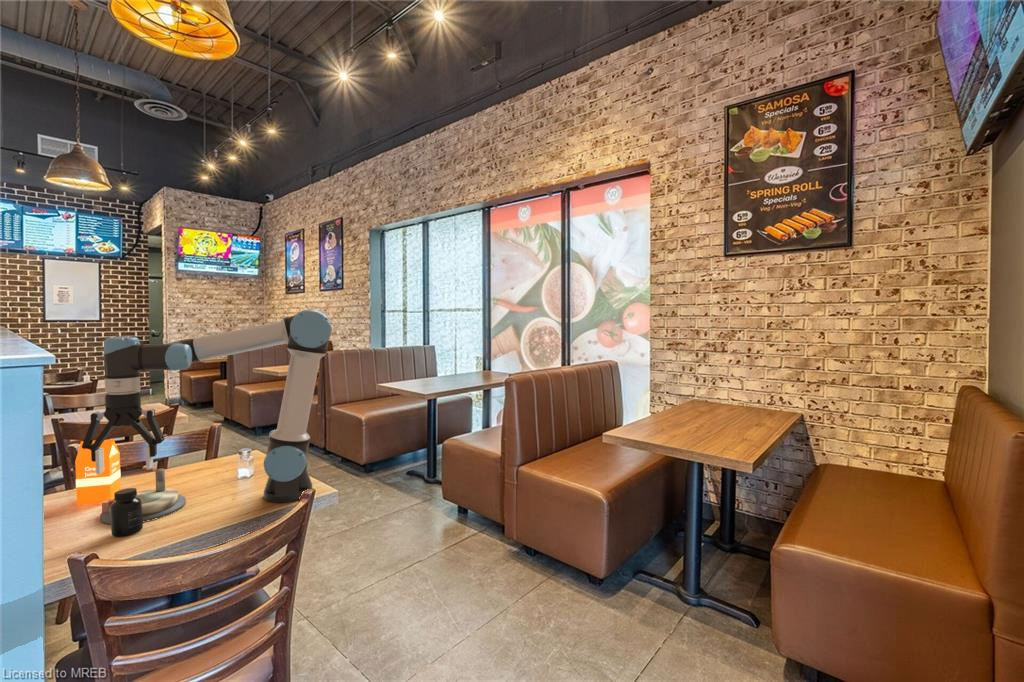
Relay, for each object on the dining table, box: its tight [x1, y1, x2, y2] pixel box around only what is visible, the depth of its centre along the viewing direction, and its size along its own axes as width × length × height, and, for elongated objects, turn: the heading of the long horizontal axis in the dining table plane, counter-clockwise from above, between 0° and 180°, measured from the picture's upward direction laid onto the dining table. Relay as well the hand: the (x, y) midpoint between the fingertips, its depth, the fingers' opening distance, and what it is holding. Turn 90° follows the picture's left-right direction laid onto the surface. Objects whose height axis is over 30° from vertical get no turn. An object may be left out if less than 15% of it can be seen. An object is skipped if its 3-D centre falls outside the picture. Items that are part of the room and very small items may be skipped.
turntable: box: [108, 468, 179, 516], centre depth 142 cm, size 17×17×9 cm
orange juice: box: [74, 438, 122, 506], centre depth 150 cm, size 8×9×20 cm
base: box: [99, 494, 187, 526], centre depth 142 cm, size 21×21×4 cm
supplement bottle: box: [110, 487, 144, 538], centre depth 128 cm, size 7×7×12 cm
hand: (125, 470), depth 127 cm, fingers open, 10 cm apart
